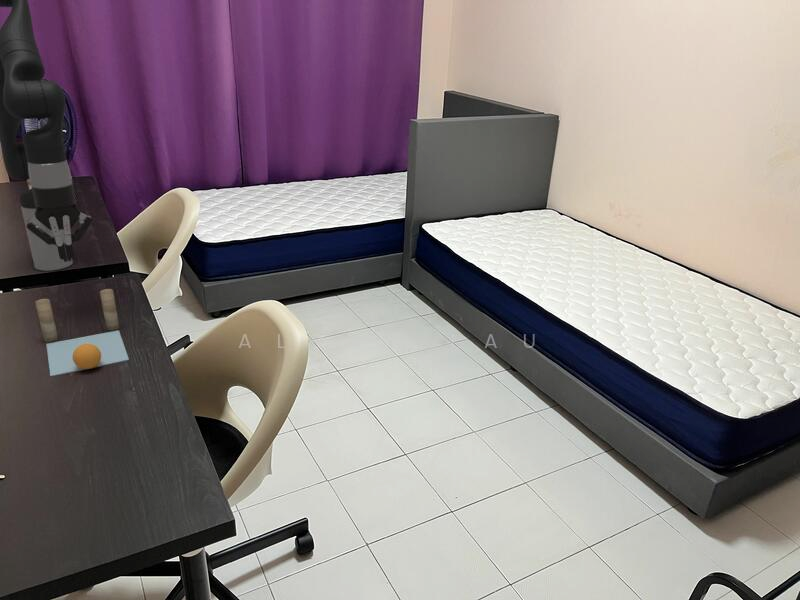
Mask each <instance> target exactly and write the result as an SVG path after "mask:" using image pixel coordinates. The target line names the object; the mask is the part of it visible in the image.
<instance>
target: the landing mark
mask: <svg viewBox="0 0 800 600" xmlns="http://www.w3.org/2000/svg"><path fill="white" fill-rule="evenodd" d="M82 344H93V345H95V346H96V347H98V348H99V350H100V352H101V360H100V362H99V364H98V365H97V366H95V367H94V368H98V367H99V368H100V367H104V366H108V365H113V364H119V363H122V362H128V361H129V360H130V358H129V355H128V353H127V350H126V348H125V344H124V341H123V338H122V336H121V333H120V330H118V329H117V330H115V331H108V332H103V333H97V334H91V335H87V336H82V337H76V338H72V339H71V338H70V339H66V340H60V341H54V342H50V343H46V352H47V359H48V367H49V376H50V377H57V376H61V375H65V374H70V373H75V372H80V371H84V370H86V369H82V368H79V367H78V366H76V365H75V363H74V361H73V352H74V351H75V349H76V348H77V347H78V346H80V345H82Z"/></svg>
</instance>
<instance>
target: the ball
mask: <svg viewBox="0 0 800 600" xmlns="http://www.w3.org/2000/svg"><path fill="white" fill-rule="evenodd" d="M100 360H101V352H100V350H99V348H98V347H96V346H95V345H93V344H82V345H80V346H78V347H77V348H76V349H75V351H74V352H73V361H74V363H75V365H76V366H78V367H79V368H82V369H85V370H90V369H94V368H96V367H95V366H97V365H98V364H99V362H100Z"/></svg>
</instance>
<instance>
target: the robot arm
mask: <svg viewBox="0 0 800 600" xmlns="http://www.w3.org/2000/svg"><path fill="white" fill-rule="evenodd" d="M0 7H1V8H11V11H10V12H9V15H8V16H7V17H6V19H5V21H4V22H3V24H2V25H1V27H0V149H1V153H2V159H3V165H4V168H5V171H6V174H7V175H8V176H9V177H10V178H11V179H12V180H16V181H20V180H21V181H23V180H24V181H25V180H27V179H30V184H31V187H32V189H30V190H29V189H27V190H26V191H23V192H22V193H21V194H20V195H19V198H18V200H19V205H20V208H21V212H22V217H23V221H24V225H25V230H26V234H27V238H28V243H29V248H30V252H31V257H32V260H33V265H34V269H36V270H38V271H45V272H46V271H57V270H62V269H66V268H68V267H70V266H71V265H72V264H74V263H73V259H74V258H75V254H74V253H75V252H74V249H73V248H74V247H73V244H74V243H76V242H80V241H81V239H82V238H83V236H84V235H85V233H86V231H88V228H89V227H90V226H91V224H92V222H93V218H92V216H91V215H89V214H85V213H83V212H81V209H80V208H79V206H78V205H77V201H76V196H75V195H76V194H75V190H74V184H73V177H72V173H71V169H70V167H69V164H68V160H67V154H66V149H65V145H64V144H65V143H64V135H63V134H64V132H63V131H64V130H63V129H64V120H65V119H64V117H65V112H66V101H67V100H66V95H65V92H64V90H63V88H62V87H61V86H60V84H58V83H57V82H55V81H53V80H43V79H44V78H45V73H46V71H45V70H46V69H45V66H44V62H43V60H42V57H41V54H40V51H39V48H38V45H37V42H36V37H35V33H34V28H33V21H32V16H31V10H30V5H29V1H28V0H0ZM29 119H30V120H31V119H32V120H33V119H47V122H46V124H45V125H44V126H41V127H40V128H36V129H32V130H29V131H27V132H24V134H23V135H22V141H19V142H18V141H16V139H17V134H18V130H19V127H20V125H21V123H22V121H23V120H29ZM78 219H79V220H78ZM77 221H78V222H79V225H78V226H77V228H76V230H75V231H74V232H73V234H72V232H71V229H72V228H73V227H74V226H75V224H76V222H77Z"/></svg>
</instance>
